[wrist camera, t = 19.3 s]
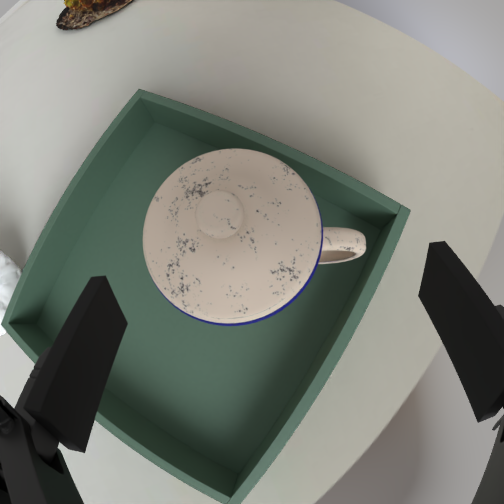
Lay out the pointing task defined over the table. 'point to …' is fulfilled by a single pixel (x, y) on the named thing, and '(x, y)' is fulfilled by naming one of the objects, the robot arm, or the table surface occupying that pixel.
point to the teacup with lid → (238, 237)
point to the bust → (7, 284)
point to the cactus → (86, 12)
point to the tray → (183, 326)
